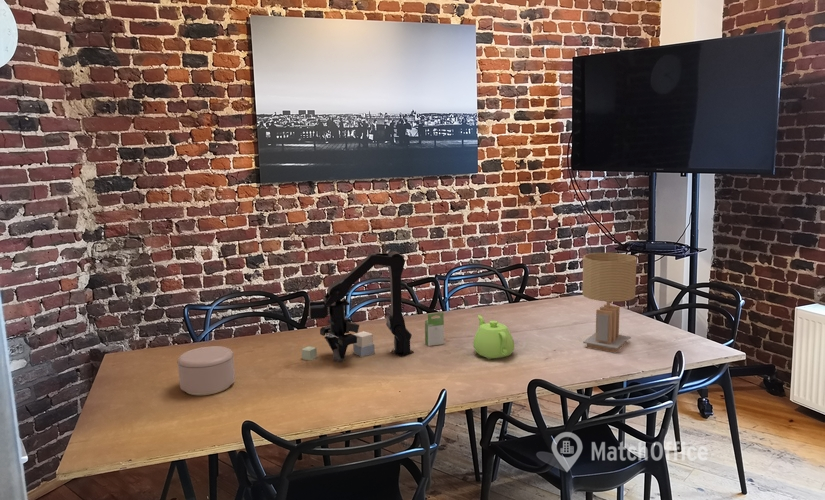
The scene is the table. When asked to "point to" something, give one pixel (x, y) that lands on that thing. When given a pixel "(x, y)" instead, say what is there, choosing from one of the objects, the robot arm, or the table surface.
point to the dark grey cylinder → (337, 356)
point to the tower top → (364, 339)
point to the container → (206, 370)
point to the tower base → (364, 350)
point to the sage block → (309, 353)
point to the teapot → (493, 340)
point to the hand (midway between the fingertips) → (339, 356)
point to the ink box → (434, 330)
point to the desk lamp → (608, 295)
